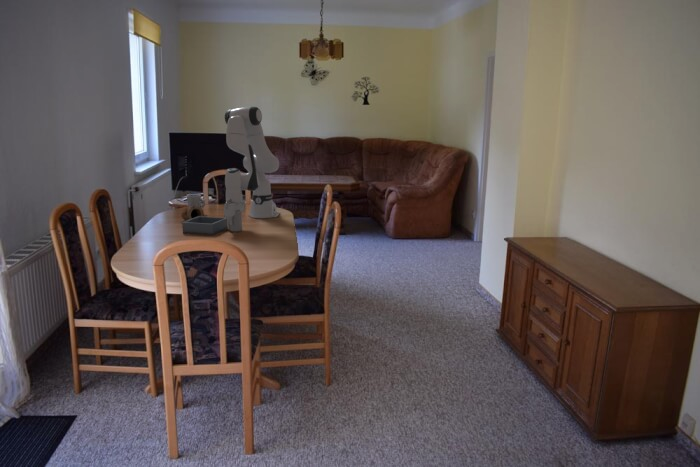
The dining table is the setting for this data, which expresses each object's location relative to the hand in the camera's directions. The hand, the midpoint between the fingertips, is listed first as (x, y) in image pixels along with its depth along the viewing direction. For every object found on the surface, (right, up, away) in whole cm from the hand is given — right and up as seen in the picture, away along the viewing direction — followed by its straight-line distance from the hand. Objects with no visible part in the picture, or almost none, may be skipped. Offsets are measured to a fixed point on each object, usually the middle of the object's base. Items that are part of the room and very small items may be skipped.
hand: (234, 222), depth 311 cm
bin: (-16, -4, +1) cm, 17 cm away
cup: (-35, +7, +49) cm, 61 cm away
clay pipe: (-30, +1, +25) cm, 40 cm away
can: (0, -5, +1) cm, 5 cm away
